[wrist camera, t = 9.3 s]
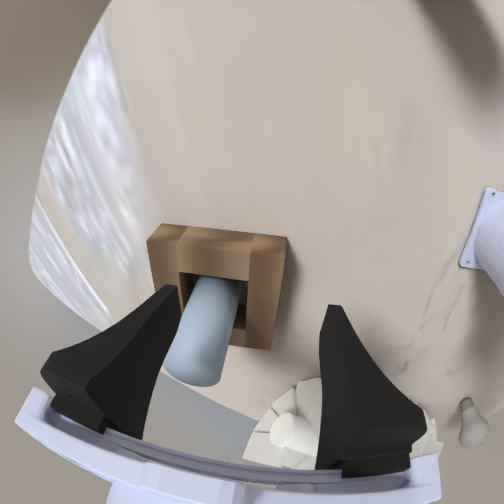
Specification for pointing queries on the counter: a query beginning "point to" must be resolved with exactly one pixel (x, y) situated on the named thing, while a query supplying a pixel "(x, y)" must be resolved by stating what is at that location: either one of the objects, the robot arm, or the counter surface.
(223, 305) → the peg
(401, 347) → the counter surface
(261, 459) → the spiral staircase
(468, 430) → the lightbulb
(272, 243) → the socket block
